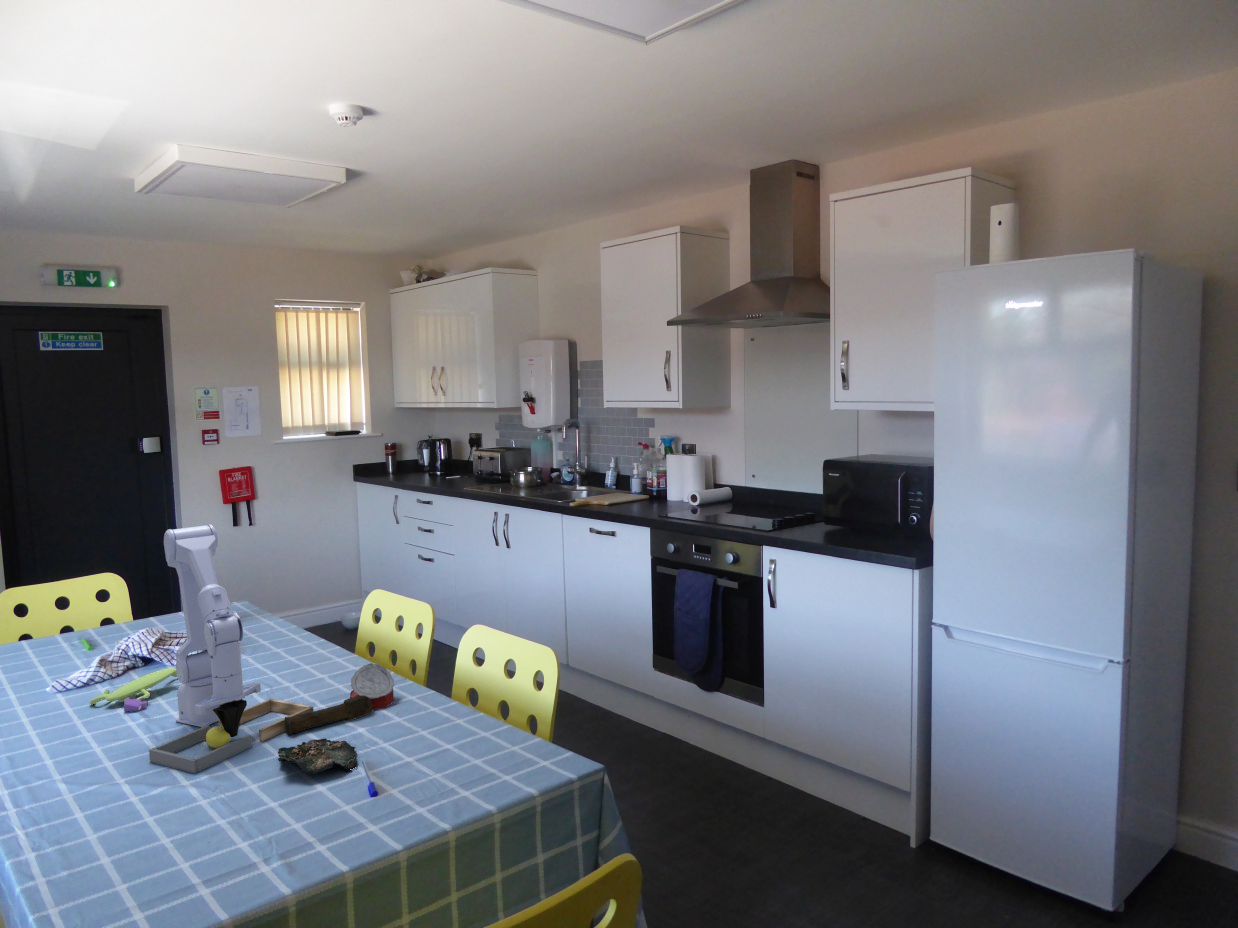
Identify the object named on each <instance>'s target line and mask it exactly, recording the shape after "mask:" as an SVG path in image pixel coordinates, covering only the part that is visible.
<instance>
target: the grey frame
mask: <svg viewBox="0 0 1238 928" xmlns="http://www.w3.org/2000/svg"><path fill="white" fill-rule="evenodd" d="M210 729H211V726H210V725H207V726H204V727H199V728H198V729H196V730H193V731H191V732H189V733H185V734H183V735H181V736H179V737H175V738H173V739H171V740H169V741H167V742H165V743H162V744H160V745H156V746H154V747H153V748H150V749H148V756H149V762H150V763H153V764H157V765H161V766H165V767H167V768H172V769H176V770H180V771H183V772H188V773H190V774H197V773H199V772H202V771H203V770H205V769H209V767H212V766H214V765H216V764H218V763H220V762H223V761H224V760H227V759H229V758H231V757H234V756H235V755H237V754H239V753H241V752H244V751H246V750H248V749H250V748H252V747H253V743H252V742H253V740H252V734H245V735H244V736H242V737H239V738H237V739H235V740H233V741H230V742H229V743H228V744H226V745H224V746H222V747H220V748H214V749H213V750H211V751H209V752H207V753H204V754H202V755H200V756H198V757H197V756H196V757H195V758H194V757H189V756H185V755H183V754H182V755H181V754H177V753H178V752H180V751H182V750H184V749H186V748H188V747H189V748H190V747H192V746H194V745H196V744H198V743H200V742H202V741H203V742H204V741H206V734H207V732H208V730H210Z"/></svg>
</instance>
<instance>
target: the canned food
mask: <svg viewBox="0 0 1238 928" xmlns="http://www.w3.org/2000/svg"><path fill="white" fill-rule="evenodd" d="M350 687H351V689H352V690H351V691H350V693H349V698H353V697H358V696H362V695H363V696H364V695H365V696H367V697H368V698H369V699H370V701H371V702H372V704H373V711H376V709H377V710H380V708H381V709H383V707H384V708H386V706H387V707H389V706H391V705H392V704H393V703H394V702H393V701H395V697H394V687H395V679H394V678H393V675H392V674H391V672H389V671H388V669H387V668H386V667H385V666H383V665H381V664H380V663H373V662H371V663H367V664H365V665H362V666H361V667H359V669H357V670H355V672H354V674H353V675H352V677H351V682H350ZM392 702H393V703H392ZM391 703H392V704H391ZM388 705H389V706H388Z"/></svg>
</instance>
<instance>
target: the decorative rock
mask: <svg viewBox="0 0 1238 928" xmlns="http://www.w3.org/2000/svg"><path fill="white" fill-rule="evenodd" d="M355 750H356V746H353V745H351V744H350V743H348V742H347V741H346V740H342V741H339V740H335V741H334V740H330V739H327V738H324V737H323V738H320V739H311V740H308V741H302V743H301V744H296V745H295V746H289V747H285V746H284V747H280V748H278V752H277V754H278V757H279V758H278V759H277V761H279V762H282V763H287V762H288V763H290V764H295V765H297V767H299V768H301V769H302V771H303V773H306V774H308V775H313V774H317V773H319V772H323V771H326V770H328V769H329V770H330V769H331V768H333V766H334V764H335V765H336V766H338V767H340V766H341V767H343V768H344V769H345V770H347V771H348V772H349V771H351V772H353V770H354V769H353V768H355V767H357V768H358V764H357V758H358V757H357V756H356V751H355ZM350 769H353V770H350Z"/></svg>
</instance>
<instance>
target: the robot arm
mask: <svg viewBox="0 0 1238 928" xmlns="http://www.w3.org/2000/svg"><path fill="white" fill-rule="evenodd" d="M218 541H219V540H218V533H217V530H216V528H215V526H213V525H212V524H210V523H209V524H206V525H205V524H204V525H199V526H190V527H182V528H175V529H174V528H173V529H171V528H169V529H167V530H166V531H165V532H164V536H163V547H164V554H165V555H164V556H165V561H166V562H167V563H166V564H167V566H168V567H171V568H175V570H176V573H177V576H178V583H179V589H180V594H181V596H180V597H181V602H182V610H183V616H184V623H185V624H184V625H185V629H186V637H187V639H186V641H184V643H183V644H182V645H180V647H179V648H178V649H177V650H176V653H175V661H176V662H175V668H176V672H177V677H176V678H177V679H178V681H179V682H180V685H179V687H178V689H177V694H176V695H177V696H176V697H177V706H178V709H177V710H178V718H175V722H177V723H183V724H185V725H191V726H195V727H199V728H202V727H204V726H207V725H208V726H210V725H212V724H215V723H218V721H219V720H220V721H221V723H222V725H223V728H224V730H225V731H226V732H227V733H229V734H230V738H236V736H238V734H239V728H240V725H239V723H240V720H241V716H242V714H243V711H244V710H245V709H247V708H246V707H247V706H248V704H247V703H248V702H247V700H245V698H246V697H247V696H250V695H253V694H257V693H260V692H262V691H261V683H260V682H258V681H257V682H256V681H252V682H250V683H247V684H243V683H244V682H243V672H242V671H243V670H242V657H241V656H242V655H241V645H240V644H241V643H240V642H241V641H242V640H243V638H244V627H243V622H242V619H241V617H240V615H239V614H238V613H237V610H233V607H232V604H231V601H230V597H229V595H228V593H227V589H226V588H225V587H224V586H221V585H219V582H218V577H217V573H216V568H215V563H214V558H213V557H214V556H216V553H217V552H216V551H217V547H218ZM204 650H205V651H204ZM199 651H201V652H199ZM191 653H192V654H191Z"/></svg>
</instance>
